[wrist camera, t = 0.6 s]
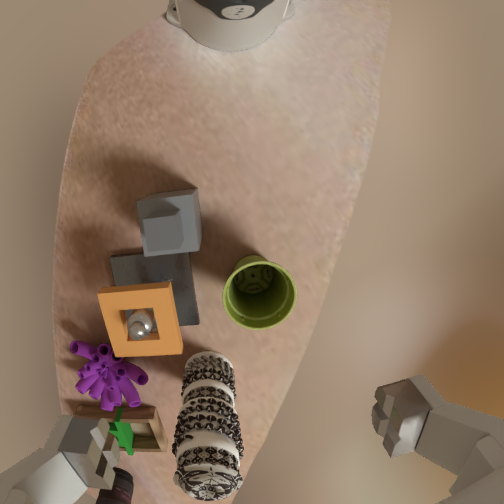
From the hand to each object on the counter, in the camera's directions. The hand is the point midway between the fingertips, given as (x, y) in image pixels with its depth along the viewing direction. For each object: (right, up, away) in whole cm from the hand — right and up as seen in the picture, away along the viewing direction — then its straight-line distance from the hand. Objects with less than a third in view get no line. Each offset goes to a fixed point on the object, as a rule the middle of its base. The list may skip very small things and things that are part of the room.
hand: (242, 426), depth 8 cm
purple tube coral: (-24, -15, +43) cm, 51 cm away
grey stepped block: (-10, +10, +37) cm, 39 cm away
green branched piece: (-26, -30, +46) cm, 61 cm away
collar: (-13, -3, +30) cm, 33 cm away
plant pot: (0, +2, +40) cm, 40 cm away
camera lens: (-32, -50, +52) cm, 79 cm away
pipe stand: (-14, -1, +39) cm, 42 cm away
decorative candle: (-7, -15, +44) cm, 47 cm away
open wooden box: (-26, -30, +46) cm, 61 cm away
